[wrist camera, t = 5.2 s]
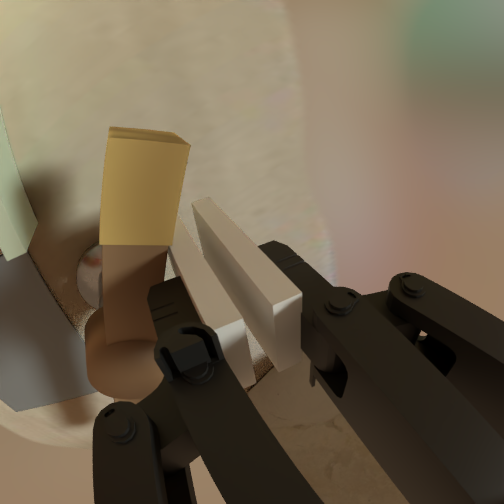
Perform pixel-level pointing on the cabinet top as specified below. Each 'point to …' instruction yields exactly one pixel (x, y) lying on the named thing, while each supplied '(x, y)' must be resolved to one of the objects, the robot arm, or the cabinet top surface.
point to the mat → (36, 342)
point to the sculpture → (321, 439)
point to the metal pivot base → (91, 276)
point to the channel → (13, 204)
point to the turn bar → (133, 257)
